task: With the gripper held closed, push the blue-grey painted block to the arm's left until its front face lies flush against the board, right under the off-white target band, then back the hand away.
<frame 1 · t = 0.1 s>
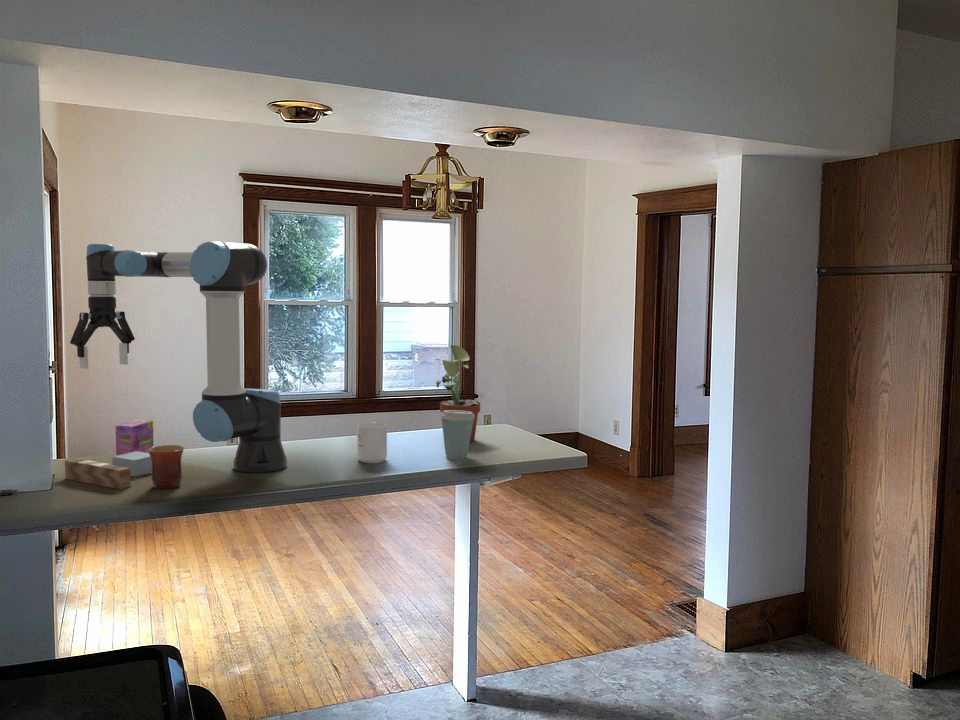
hand: (104, 366, 236), 28 cm above the breakfast bar, fingers open, 13 cm apart
block: (135, 472, 220), on the breakfast bar
board: (97, 482, 208), on the breakfast bar
potted plant: (458, 441, 270), on the breakfast bar
box: (135, 462, 233), on the breakfast bar
mug 2: (369, 460, 240), on the breakfast bar
disposable coffee cup: (457, 458, 244), on the breakfast bar
mug: (169, 485, 207), on the breakfast bar
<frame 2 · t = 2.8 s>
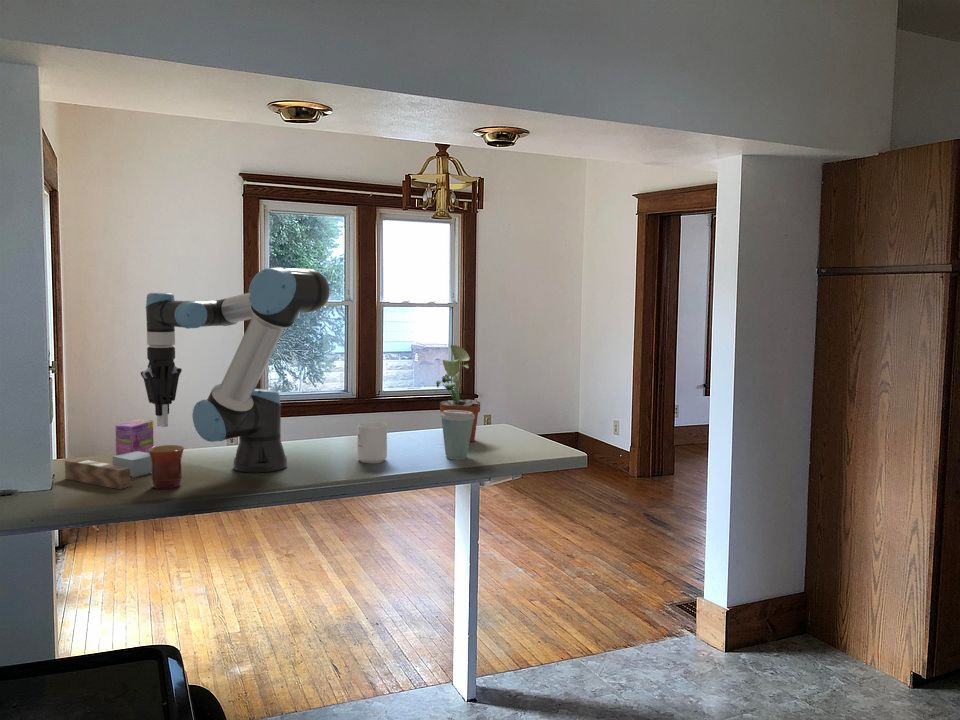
hand: (162, 426, 228), 12 cm above the breakfast bar, fingers closed
nothing on the breakfast bar moved.
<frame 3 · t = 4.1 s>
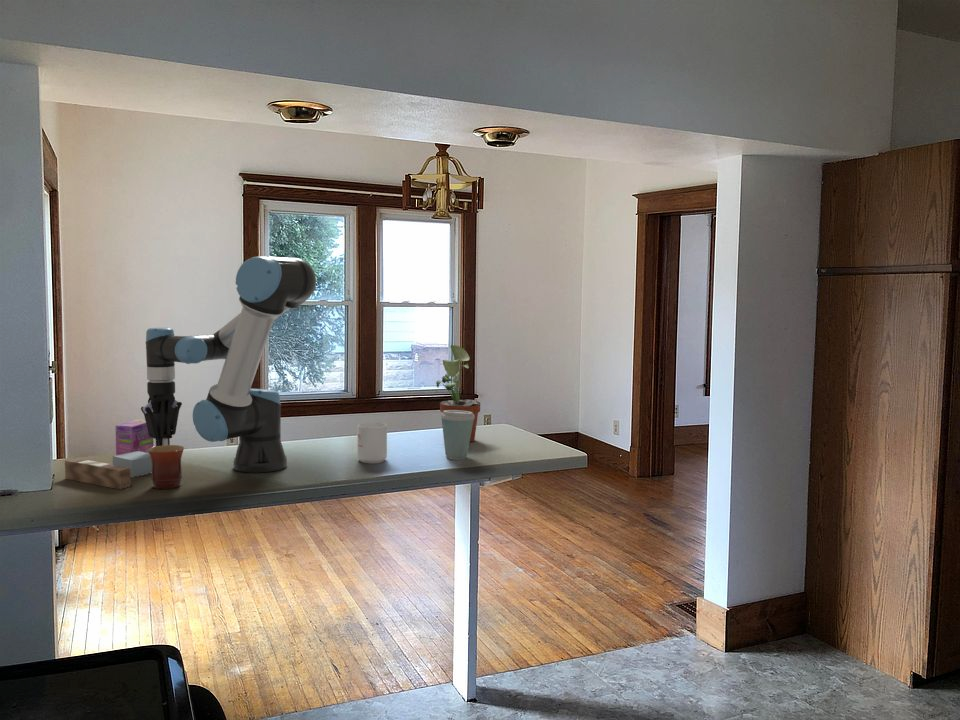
hand: (163, 460, 229), 1 cm above the breakfast bar, fingers closed
nothing on the breakfast bar moved.
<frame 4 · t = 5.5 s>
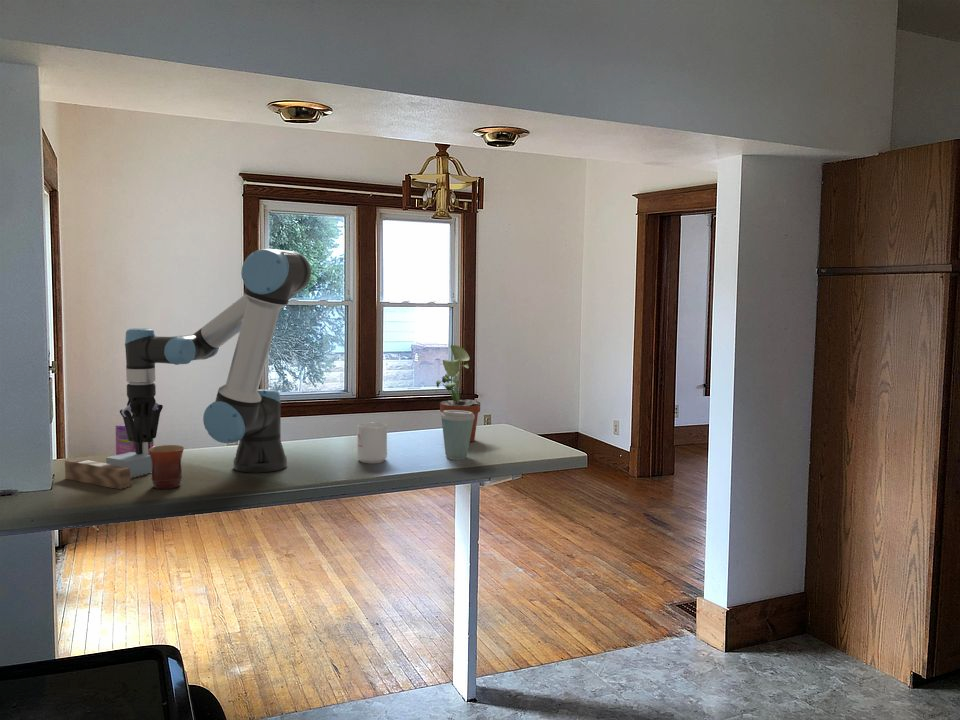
hand: (143, 464, 223), 2 cm above the breakfast bar, fingers closed
block: (130, 473, 219), on the breakfast bar
everything else where it was.
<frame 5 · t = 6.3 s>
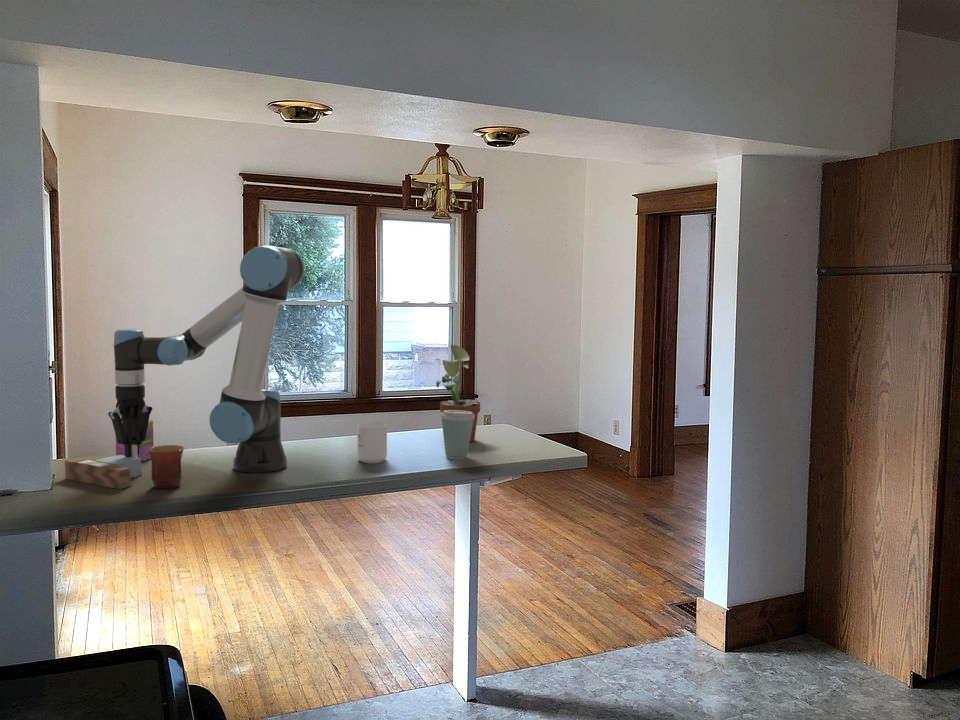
hand: (132, 467, 219), 1 cm above the breakfast bar, fingers closed
block: (118, 477, 215), on the breakfast bar, touching gripper
everything else where it was.
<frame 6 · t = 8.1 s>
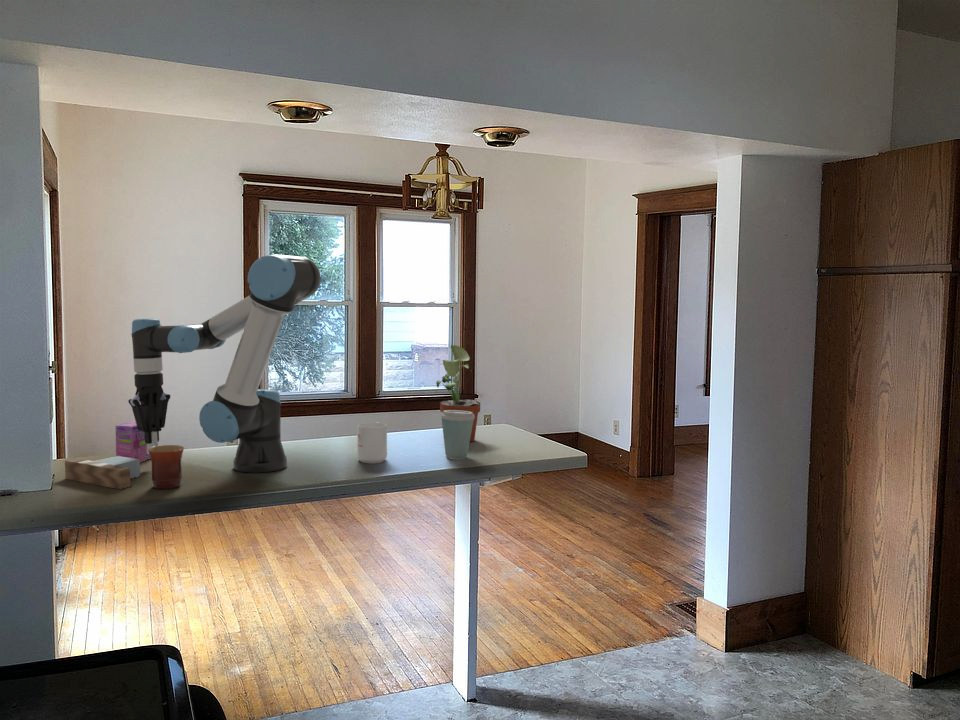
hand: (152, 453, 224), 4 cm above the breakfast bar, fingers closed
block: (116, 478, 214), on the breakfast bar
everything else where it was.
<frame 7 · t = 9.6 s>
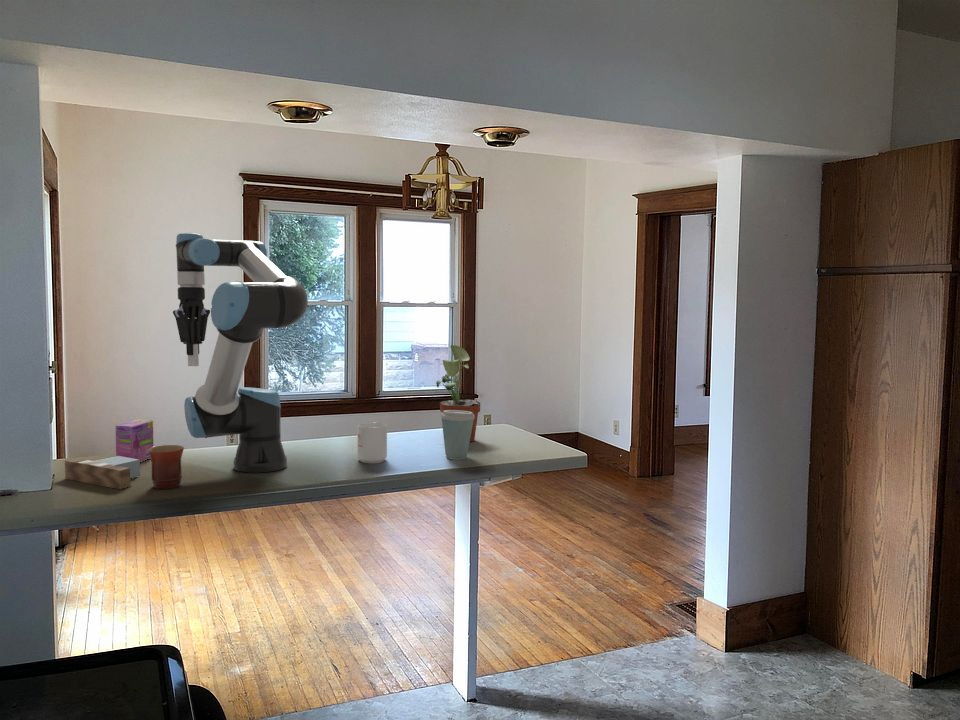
hand: (193, 365, 232), 29 cm above the breakfast bar, fingers closed
nothing on the breakfast bar moved.
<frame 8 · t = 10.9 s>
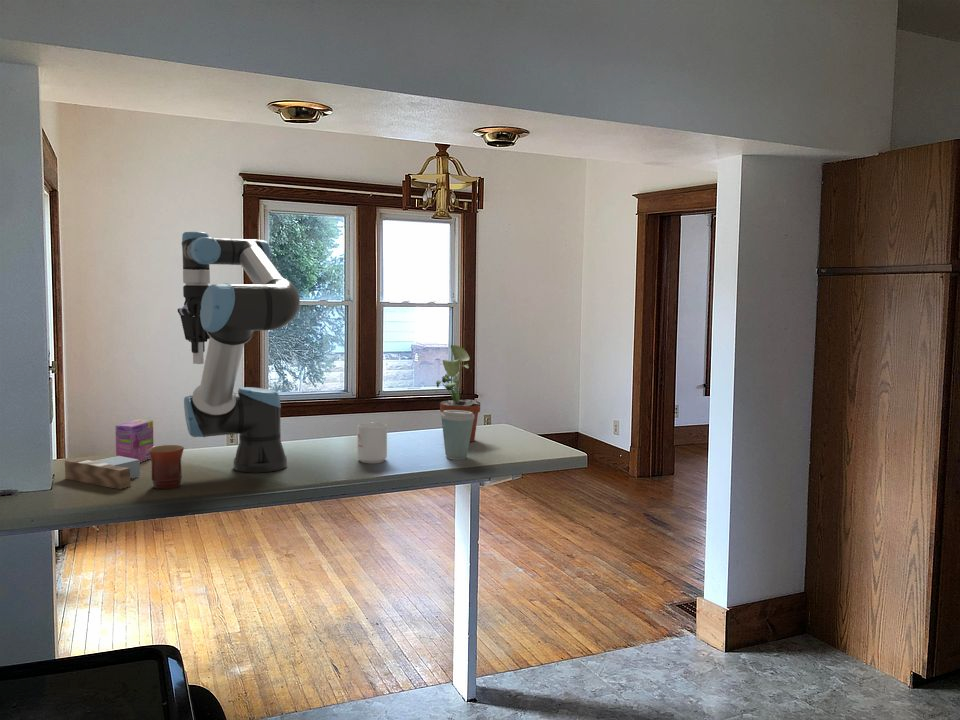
hand: (198, 363, 233), 29 cm above the breakfast bar, fingers closed
nothing on the breakfast bar moved.
at the end: block 0.6 cm from the target spot on the breakfast bar beside the board, on the breakfast bar; block tilted 0° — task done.
